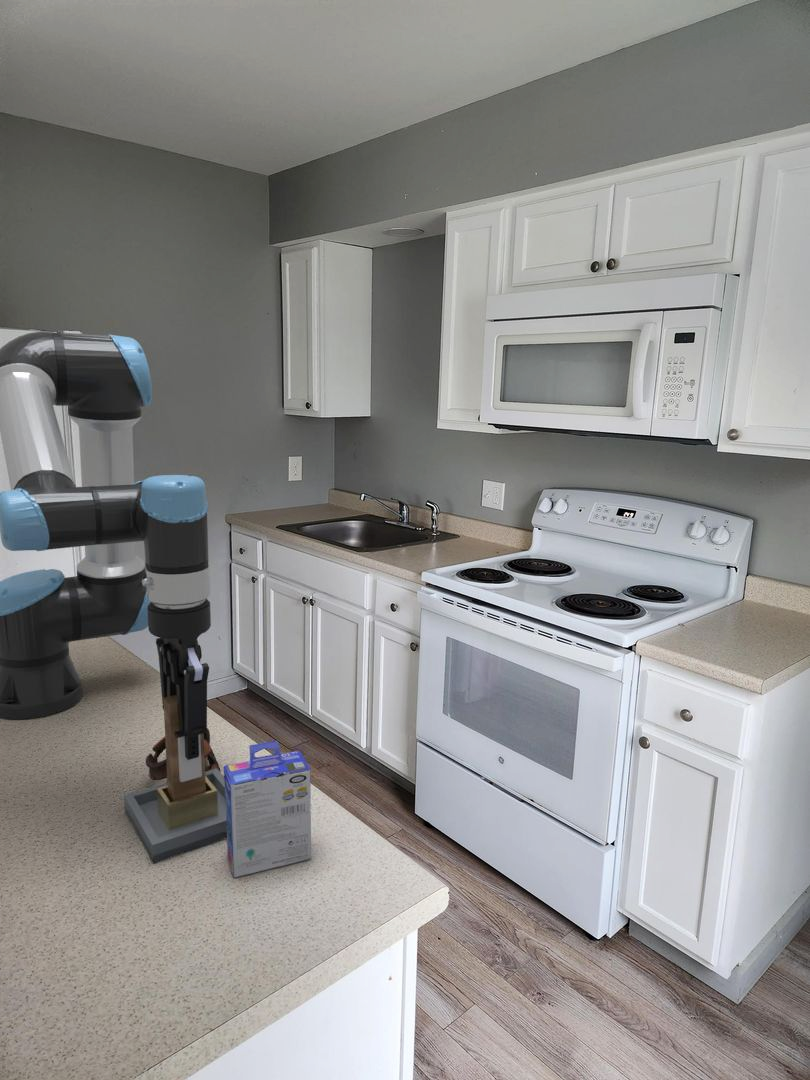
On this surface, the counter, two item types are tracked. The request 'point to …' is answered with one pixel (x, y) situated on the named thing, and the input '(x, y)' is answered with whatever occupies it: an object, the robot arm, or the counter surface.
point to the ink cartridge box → (267, 810)
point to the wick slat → (175, 786)
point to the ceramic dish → (180, 839)
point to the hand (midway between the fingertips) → (186, 772)
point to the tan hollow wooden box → (187, 807)
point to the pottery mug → (160, 768)
